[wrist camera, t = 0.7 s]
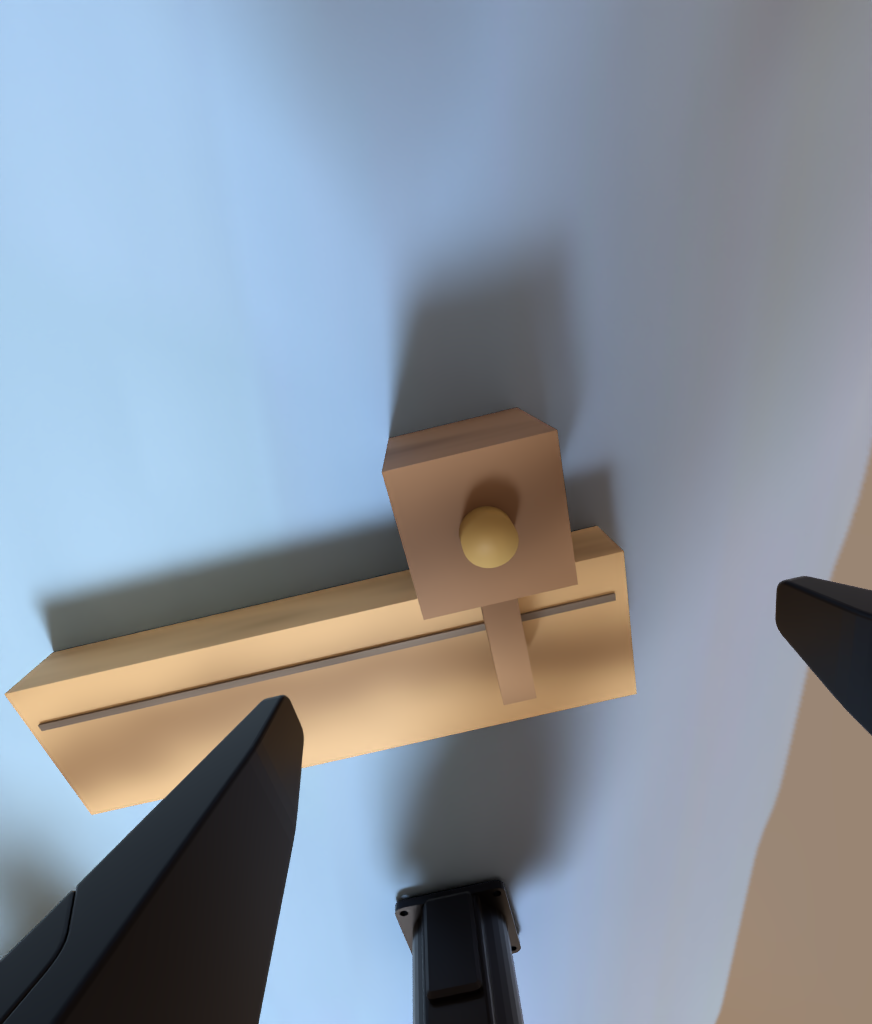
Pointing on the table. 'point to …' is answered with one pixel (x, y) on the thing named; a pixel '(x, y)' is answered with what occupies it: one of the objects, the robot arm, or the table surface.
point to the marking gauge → (484, 525)
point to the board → (319, 676)
